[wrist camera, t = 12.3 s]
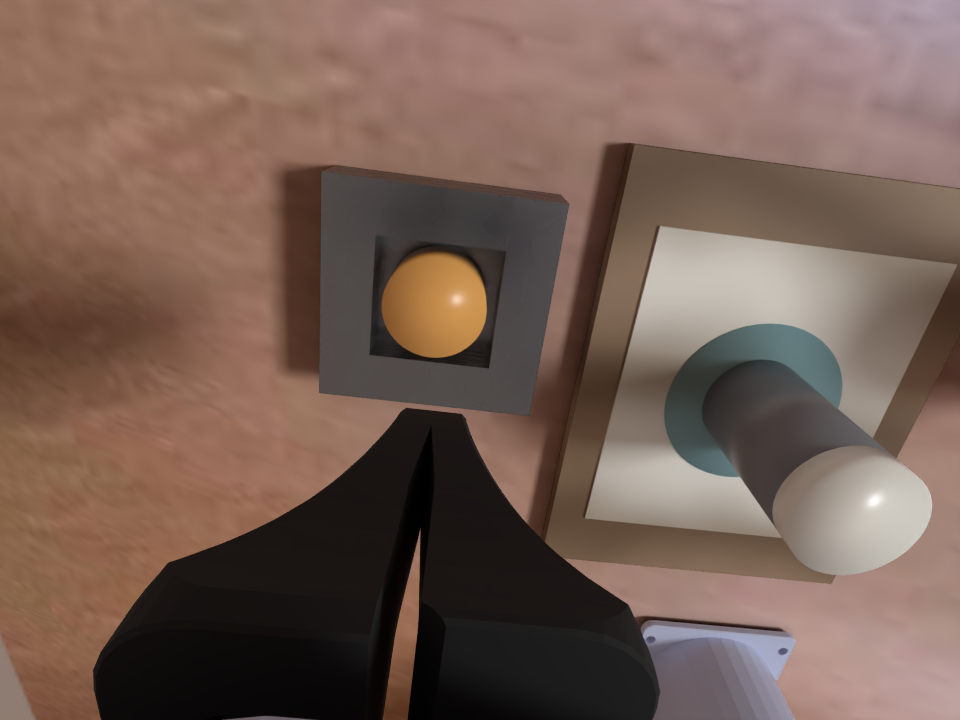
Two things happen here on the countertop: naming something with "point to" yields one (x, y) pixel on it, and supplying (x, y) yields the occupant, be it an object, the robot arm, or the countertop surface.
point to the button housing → (424, 223)
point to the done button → (435, 302)
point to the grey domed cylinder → (815, 470)
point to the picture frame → (742, 344)
